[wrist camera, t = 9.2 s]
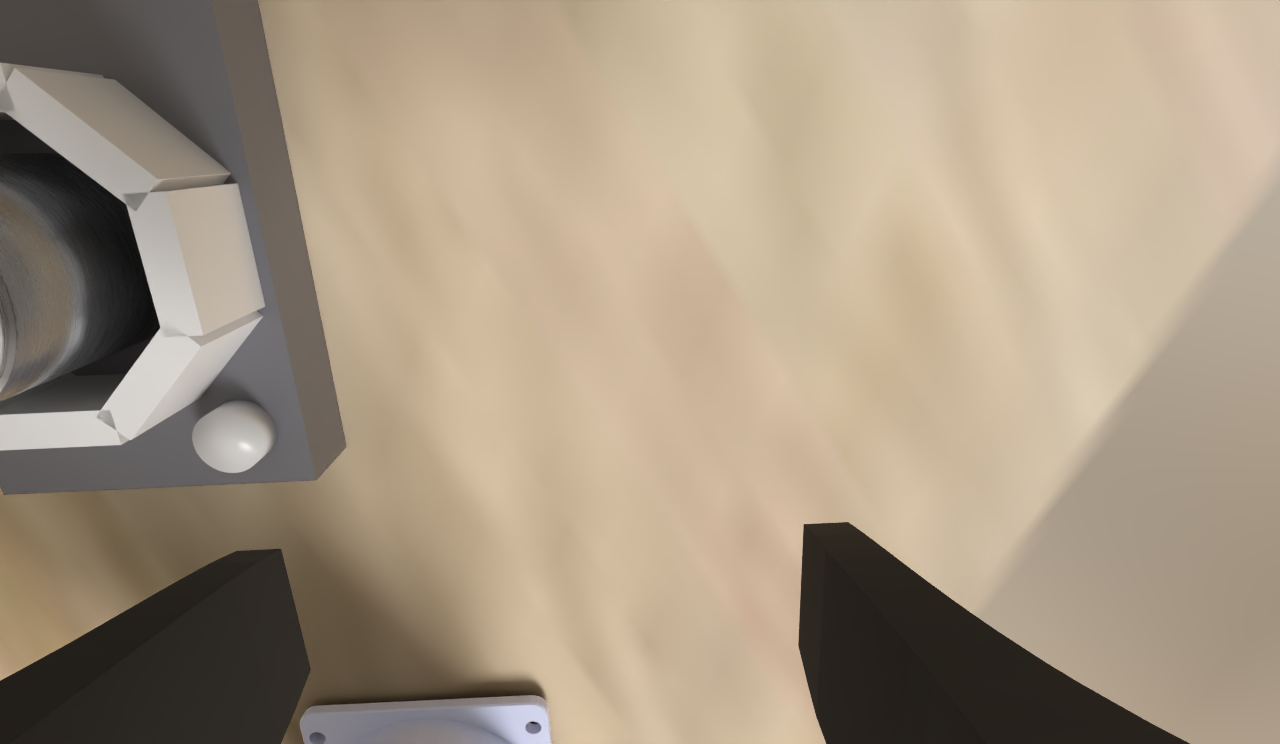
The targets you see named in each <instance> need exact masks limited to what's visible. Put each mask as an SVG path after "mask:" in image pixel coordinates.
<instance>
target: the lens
mask: <svg viewBox="0 0 1280 744" xmlns="http://www.w3.org/2000/svg"><path fill="white" fill-rule="evenodd" d="M160 328H161V327H160V324H159V320H158V317H157V313H156V309H155V306H154V302H153V299H152V295H151V291H150V288H149V284H148V281H147V277H146V274H145V270H144V266H143V263H142V259H141V256H140V252H139V248H138V245H137V241H136V238H135V234H134V230H133V227H132V223H131V220H130V216H129V213H128V209H127V205H126V204H125V203H124V202H122V201H121V200H120V199H118V198H117V197H116V196H115V195H113V194H112V193H111V192H109V191H108V190H107V189H105V188H104V187H103V186H101V185H100V184H99V183H97V182H96V181H95V180H93V179H92V178H91V177H90V176H88V175H87V174H86V173H84V172H83V171H82V170H80V169H79V168H78V167H76V166H75V165H74V164H72V163H71V162H70V161H68V160H67V159H66V158H65V157H63V156H62V155H61V154H59V153H22V154H0V401H3V400H5V399H8V398H10V397H12V396H15V395H17V394H19V393H22V392H24V391H26V390H29V389H31V388H34V387H36V386H38V385H41V384H43V383H45V382H48V381H50V380H53V379H55V378H57V377H60V376H62V375H64V374H67V373H69V372H71V371H74V370H76V369H79V368H81V367H83V366H86V365H88V364H90V363H93V362H95V361H97V360H100V359H102V358H105V357H107V356H109V355H112V354H114V353H116V352H119V351H121V350H124V349H126V348H128V347H131V346H133V345H135V344H138V343H140V342H142V341H145V340H147V339H149V338H151V337H153V336H155V335H156V333H157V332H158V330H159V329H160Z"/></svg>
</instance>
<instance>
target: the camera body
mask: <svg viewBox="0 0 1280 744" xmlns="http://www.w3.org/2000/svg"><path fill="white" fill-rule="evenodd" d="M22 153H59V154H61V155H62V156H63V157H65V158H66V159H67V160H68V161H70V162H71V163H72V164H74V165H75V166H76V167H78V168H79V169H80V170H82V171H83V172H84V173H86V174H87V175H88V176H90V177H91V178H92V179H93V180H95V181H96V182H97V183H99V184H100V185H101V186H103V187H104V188H105V189H107V190H108V191H109V192H111V193H112V194H113V195H115V196H116V197H117V198H118V199H120V200H121V201H122V202H124V203H125V204H126V205H127V209H128V213H129V216H130V220H131V223H132V227H133V230H134V234H135V238H136V241H137V245H138V248H139V252H140V256H141V259H142V263H143V266H144V270H145V274H146V277H147V281H148V284H149V288H150V291H151V295H152V299H153V302H154V306H155V309H156V313H157V317H158V320H159V324H160V327H161V328H160V329H159V330H158V332H157V333H156V335H155V336H153V337H151V338H149V339H147V340H145V341H142V342H140V343H138V344H135V345H133V346H131V347H128V348H126V349H124V350H121V351H119V352H116V353H114V354H112V355H109V356H107V357H105V358H102V359H100V360H97V361H95V362H93V363H90V364H88V365H86V366H83V367H81V368H79V369H76V370H74V371H71V372H69V373H67V374H64V375H62V376H60V377H57V378H55V379H53V380H50V381H48V382H45V383H43V384H41V385H38V386H36V387H34V388H31V389H29V390H26V391H24V392H22V393H19V394H17V395H15V396H12V397H10V398H8V399H5V400H3V401H0V487H1V489H2V492H3V494H4V495H8V494H30V493H51V492H73V491H95V490H116V489H138V488H159V487H181V486H202V485H224V484H245V483H267V482H288V481H310V480H317V479H318V478H319V477H320V475H321V474H322V473H323V472H324V471H325V470H326V469H327V468H328V467H329V466H330V464H331V463H332V462H333V461H334V460H335V459H336V458H337V457H338V456H339V454H340V453H341V452H342V451H343V450H344V449H345V448H346V443H345V438H344V433H343V428H342V423H341V418H340V413H339V408H338V403H337V398H336V393H335V388H334V383H333V378H332V373H331V368H330V363H329V358H328V353H327V348H326V343H325V338H324V333H323V327H322V322H321V317H320V312H319V307H318V302H317V297H316V292H315V287H314V282H313V277H312V272H311V267H310V262H309V257H308V252H307V247H306V242H305V237H304V232H303V227H302V222H301V217H300V212H299V207H298V202H297V197H296V192H295V187H294V182H293V177H292V171H291V166H290V161H289V156H288V151H287V146H286V141H285V136H284V131H283V126H282V121H281V116H280V111H279V106H278V101H277V96H276V91H275V86H274V81H273V76H272V71H271V66H270V61H269V56H268V51H267V46H266V41H265V36H264V31H263V26H262V21H261V16H260V10H259V5H258V0H0V154H22Z"/></svg>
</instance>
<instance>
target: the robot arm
mask: <svg viewBox="0 0 1280 744" xmlns="http://www.w3.org/2000/svg"><path fill="white" fill-rule="evenodd" d="M799 650H800V654H801V658H802V662H803V666H804V670H805V674H806V678H807V683H808V686H809V690H810V694H811V698H812V702H813V705H814V709H815V713H816V717H817V719H818V722H819V725H820V728H821V730H822V733H823V736H824V738H825V741H826V744H1189V743H1188V742H1186V741H1184V740H1182V739H1180V738H1178V737H1176V736H1174V735H1172V734H1170V733H1168V732H1166V731H1165V730H1163V729H1161V728H1159V727H1157V726H1155V725H1153V724H1151V723H1149V722H1148V721H1146V720H1144V719H1142V718H1140V717H1139V716H1137V715H1135V714H1133V713H1131V712H1130V711H1128V710H1126V709H1124V708H1123V707H1121V706H1119V705H1117V704H1116V703H1114V702H1112V701H1110V700H1109V699H1107V698H1105V697H1103V696H1101V695H1100V694H1098V693H1096V692H1094V691H1093V690H1091V689H1089V688H1087V687H1085V686H1083V685H1082V684H1080V683H1079V682H1077V681H1075V680H1073V679H1072V678H1070V677H1068V676H1067V675H1065V674H1064V673H1062V672H1060V671H1059V670H1057V669H1055V668H1054V667H1052V666H1050V665H1049V664H1047V663H1045V662H1044V661H1043V660H1041V659H1039V658H1038V657H1036V656H1035V655H1033V654H1032V653H1030V652H1029V651H1027V650H1026V649H1024V648H1022V647H1021V646H1019V645H1018V644H1016V643H1015V642H1013V641H1012V640H1010V639H1009V638H1007V637H1005V636H1004V635H1003V634H1001V633H999V632H998V631H996V630H995V629H993V628H992V627H990V626H989V625H988V624H986V623H985V622H983V621H982V620H980V619H979V618H978V617H976V616H975V615H973V614H972V613H970V612H969V611H967V610H966V609H965V608H963V607H962V606H960V605H959V604H958V603H956V602H955V601H953V600H952V599H951V598H949V597H948V596H946V595H945V594H944V593H942V592H941V591H940V590H938V589H937V588H936V587H934V586H933V585H931V584H930V583H929V582H927V581H926V580H925V579H923V578H922V577H921V576H919V575H918V574H917V573H915V572H914V571H913V570H911V569H910V568H909V567H907V566H906V565H905V564H904V563H902V562H901V561H900V560H898V559H897V558H896V557H894V556H893V555H892V554H890V553H889V552H888V551H886V550H885V549H884V548H883V547H881V546H880V545H879V544H877V543H876V542H875V541H873V540H872V539H871V538H869V537H868V536H867V535H865V534H864V533H863V532H861V531H860V530H858V529H857V528H856V527H854V526H853V525H851V524H850V523H848V522H843V523H822V524H804V532H803V555H802V578H801V600H800V623H799ZM309 672H310V665H309V661H308V657H307V653H306V649H305V645H304V641H303V636H302V632H301V628H300V624H299V620H298V616H297V612H296V608H295V604H294V600H293V596H292V592H291V588H290V584H289V580H288V576H287V572H286V567H285V563H284V559H283V555H282V551H281V549H270V550H249V551H236V552H234V553H231V554H229V555H227V556H225V557H223V558H220V559H218V560H216V561H214V562H212V563H210V564H208V565H207V566H205V567H203V568H201V569H199V570H197V571H195V572H193V573H192V574H190V575H188V576H186V577H184V578H183V579H181V580H179V581H177V582H175V583H174V584H172V585H170V586H168V587H167V588H165V589H163V590H161V591H159V592H158V593H156V594H154V595H153V596H151V597H149V598H147V599H146V600H144V601H142V602H140V603H139V604H137V605H135V606H133V607H132V608H130V609H128V610H126V611H125V612H123V613H121V614H119V615H118V616H116V617H114V618H112V619H111V620H109V621H107V622H105V623H104V624H102V625H100V626H98V627H97V628H95V629H93V630H91V631H90V632H88V633H86V634H85V635H83V636H81V637H79V638H78V639H76V640H74V641H72V642H71V643H69V644H67V645H65V646H64V647H62V648H60V649H58V650H56V651H55V652H53V653H51V654H49V655H47V656H45V657H43V658H42V659H40V660H38V661H36V662H34V663H32V664H31V665H29V666H27V667H25V668H23V669H21V670H20V671H18V672H16V673H14V674H12V675H10V676H9V677H7V678H5V679H3V680H1V681H0V744H281V742H282V740H283V737H284V735H285V733H286V730H287V728H288V725H289V723H290V721H291V718H292V716H293V714H294V711H295V709H296V706H297V704H298V701H299V698H300V696H301V693H302V690H303V688H304V685H305V683H306V680H307V677H308V675H309ZM532 721H534V722H538V724H531V723H530V722H532ZM300 729H301V733H302V737H303V741H304V744H552V735H551V726H550V716H549V707H548V704H547V702H546V701H545V700H544V699H543V698H542V697H539V696H535V695H524V696H504V697H484V698H463V699H443V700H423V701H402V702H382V703H362V704H341V705H321V706H313V707H310V708H308V709H307V710H306V711H305V713H304V714H303V716H302V718H301V720H300ZM318 732H319V733H322V734H319V733H318Z"/></svg>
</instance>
